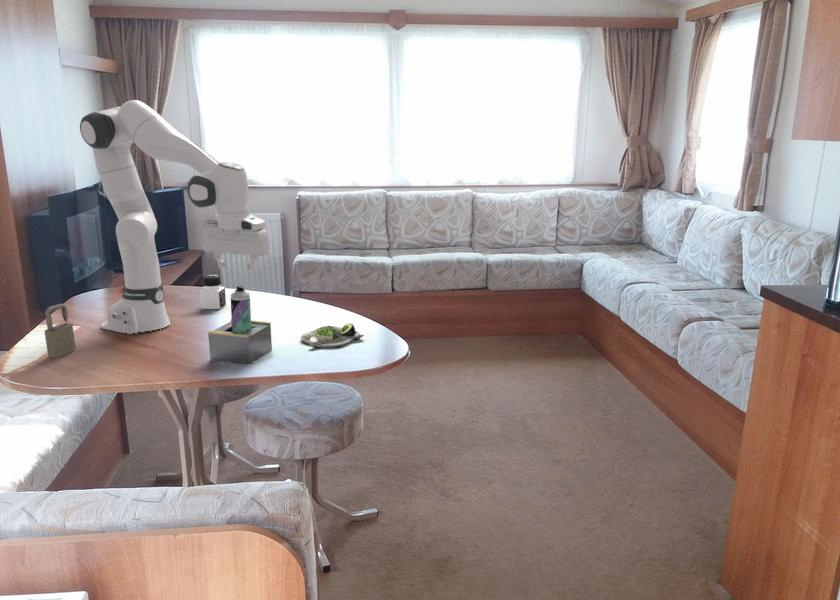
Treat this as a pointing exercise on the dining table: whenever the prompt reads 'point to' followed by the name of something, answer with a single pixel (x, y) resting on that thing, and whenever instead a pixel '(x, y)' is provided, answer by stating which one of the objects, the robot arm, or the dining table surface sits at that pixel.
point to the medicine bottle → (212, 293)
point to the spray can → (240, 311)
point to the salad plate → (332, 336)
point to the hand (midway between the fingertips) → (236, 268)
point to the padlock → (59, 334)
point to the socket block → (240, 343)
